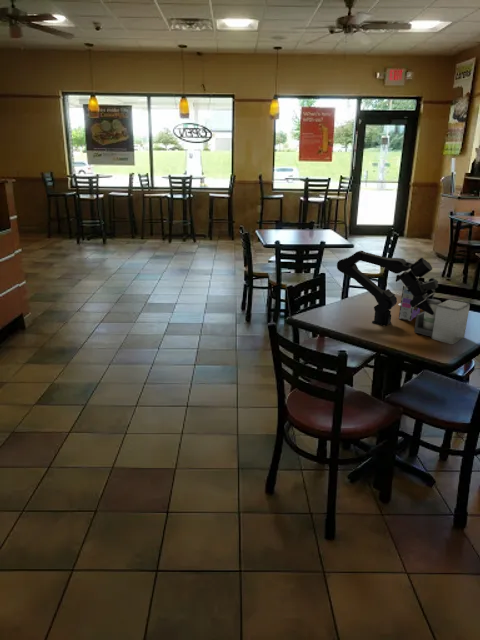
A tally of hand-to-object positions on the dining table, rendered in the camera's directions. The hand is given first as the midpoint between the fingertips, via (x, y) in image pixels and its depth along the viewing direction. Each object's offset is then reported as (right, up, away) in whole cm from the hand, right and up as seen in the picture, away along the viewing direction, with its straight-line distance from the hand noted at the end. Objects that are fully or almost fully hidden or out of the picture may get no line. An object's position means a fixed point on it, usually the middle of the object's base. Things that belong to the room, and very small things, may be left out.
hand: (435, 312), depth 205 cm
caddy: (+5, -11, -2) cm, 12 cm away
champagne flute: (+2, +5, +44) cm, 44 cm away
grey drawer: (-2, -8, +4) cm, 9 cm away
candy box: (-2, -2, +26) cm, 26 cm away
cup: (-1, -6, +3) cm, 7 cm away
